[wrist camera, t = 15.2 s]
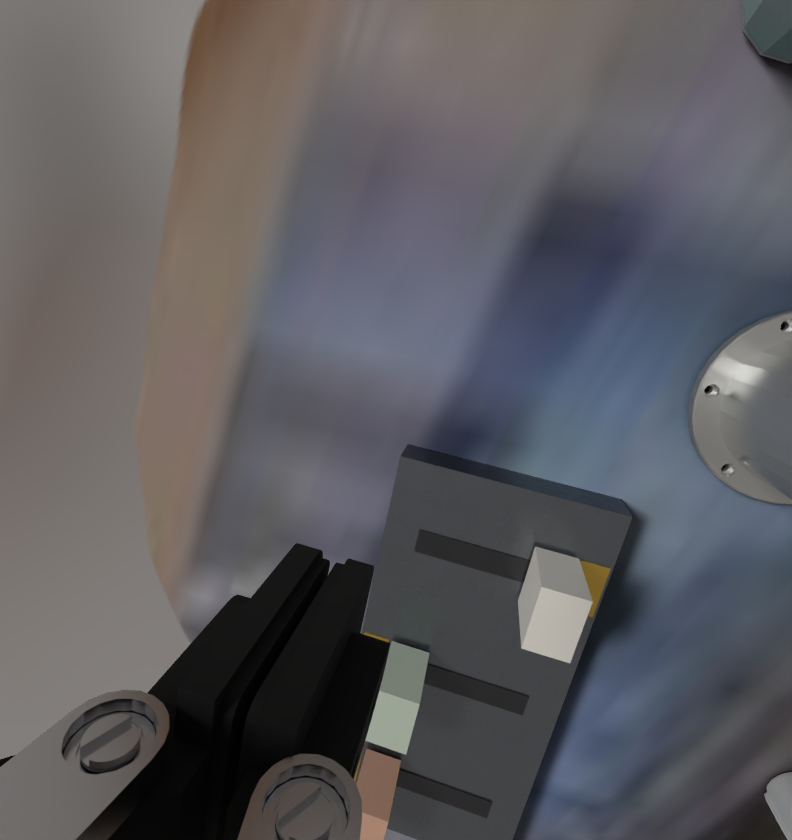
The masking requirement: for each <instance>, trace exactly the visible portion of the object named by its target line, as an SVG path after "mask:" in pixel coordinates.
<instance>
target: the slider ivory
mask: <svg viewBox="0 0 792 840" xmlns="http://www.w3.org/2000/svg"><path fill="white" fill-rule="evenodd" d="M592 603H593V601H592V598H591V594H590V591H589V588H588V585H587V582H586V579H585V576H584V572H583V569H582V566H581V563H580V560H579V558H575V557H572V556H568V555H564V554H561V553H557V552H554V551H550V550H546V549H543V548H539V547H536V546H535V549H534V552H533V555H532V558H531V561H530V564H529V568H528V571H527V574H526V577H525V580H524V583H523V586H522V590H521V593H520V596H519V599H518V610H519V624H520V638H521V649H525V650H528V651H531V652H534V653H538V654H541V655H544V656H547V657H551V658H554V659H557V660H560V661H564V662H567V663H570V662H571V660H572V657H573V654H574V652H575V649H576V646H577V643H578V641H579V638H580V635H581V633H582V630H583V627H584V624H585V622H586V619H587V616H588V613H589V611H590V608H591V605H592Z"/></svg>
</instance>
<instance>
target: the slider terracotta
mask: <svg viewBox="0 0 792 840" xmlns="http://www.w3.org/2000/svg"><path fill="white" fill-rule="evenodd" d="M400 764H401V760H398V759H395V758H392V757H389V756H386V755H384V754H381V753H378V752H375V751H372V750H369V749H366V752H365V756H364V759H363V763H362V766H361V770H360V773H359V777H358V780H357V784H356V785H357V788H358V791H359V794H360V797H361V799H362V824H361V833H360V840H384V837H385V833H386V829H387V826H388V822H389V817H390V812H391V807H392V802H393V798H394V793H395V788H396V783H397V778H398V773H399V768H400Z"/></svg>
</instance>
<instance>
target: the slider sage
mask: <svg viewBox="0 0 792 840" xmlns="http://www.w3.org/2000/svg"><path fill="white" fill-rule="evenodd" d="M428 658H429V653H428V652H425V651H422V650H419V649H416V648H413V647H409V646H406V645H403V644H400V643H397V642H394V641H392V642H391V646H390V649H389V654H388V658H387V662H386V666H385V670H384V674H383V678H382V682H381V686H380V690H379V694H378V698H377V701H376V705H375V709H374V712H373V716H372V719H371V723H370V726H369V729H368V733H367V736H366V740H365V741H368V742H371V743H373V744H376V745H379V746H382V747H385V748H388V749H391V750H394V751H396V752H399V753H402V754H405V755H406V753H407V750H408V746H409V742H410V738H411V735H412V731H413V727H414V724H415V720H416V716H417V713H418V709H419V705H420V700H421V695H422V690H423V684H424V679H425V674H426V669H427V663H428Z"/></svg>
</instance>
